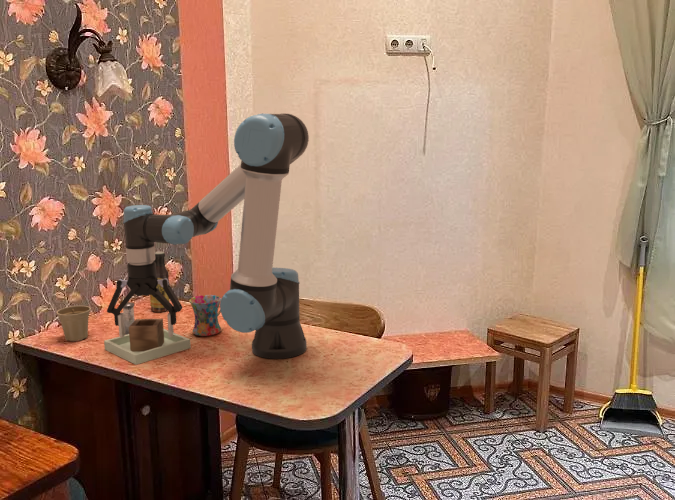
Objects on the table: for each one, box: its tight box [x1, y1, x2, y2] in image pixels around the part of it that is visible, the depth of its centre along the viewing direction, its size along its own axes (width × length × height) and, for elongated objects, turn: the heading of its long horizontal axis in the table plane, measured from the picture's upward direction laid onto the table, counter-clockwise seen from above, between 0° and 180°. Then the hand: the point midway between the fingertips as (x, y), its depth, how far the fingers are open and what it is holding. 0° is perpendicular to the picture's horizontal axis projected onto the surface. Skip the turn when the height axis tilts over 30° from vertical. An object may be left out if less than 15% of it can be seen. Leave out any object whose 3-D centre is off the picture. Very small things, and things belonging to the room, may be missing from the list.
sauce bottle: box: [149, 250, 171, 313], centre depth 221 cm, size 6×6×20 cm
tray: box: [103, 328, 192, 366], centre depth 186 cm, size 17×17×3 cm
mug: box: [188, 294, 222, 337], centre depth 199 cm, size 12×9×11 cm
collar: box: [129, 318, 165, 352], centre depth 185 cm, size 8×8×7 cm
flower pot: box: [56, 305, 92, 342], centre depth 195 cm, size 9×9×9 cm
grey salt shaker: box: [122, 301, 136, 335], centre depth 199 cm, size 4×4×9 cm
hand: (146, 336), depth 186 cm, fingers open, 13 cm apart
